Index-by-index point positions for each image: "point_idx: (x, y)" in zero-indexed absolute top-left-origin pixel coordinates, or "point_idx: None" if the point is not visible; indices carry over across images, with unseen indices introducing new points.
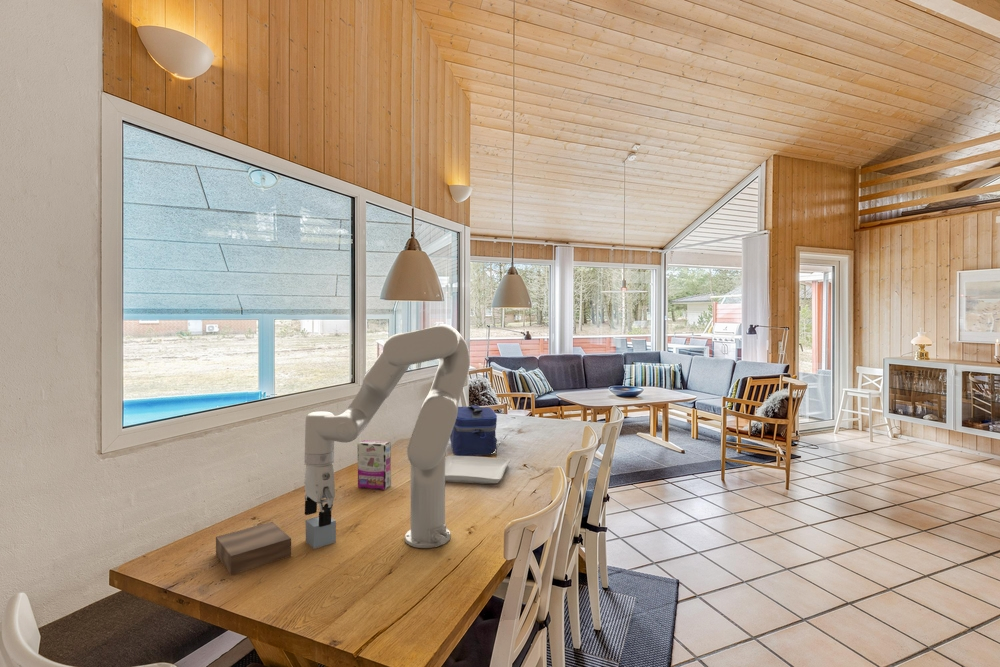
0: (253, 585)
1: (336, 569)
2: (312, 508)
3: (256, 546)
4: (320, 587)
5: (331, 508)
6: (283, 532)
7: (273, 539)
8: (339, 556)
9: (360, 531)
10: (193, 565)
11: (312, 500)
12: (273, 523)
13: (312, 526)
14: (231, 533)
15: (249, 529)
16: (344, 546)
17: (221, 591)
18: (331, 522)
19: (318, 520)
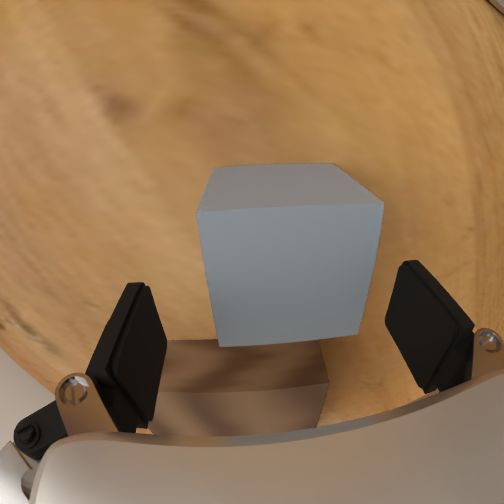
0: (378, 390)
1: (482, 249)
2: (148, 339)
3: None
4: (491, 298)
5: (499, 343)
6: (251, 393)
7: (289, 412)
8: (445, 210)
9: (292, 12)
10: None
11: (134, 398)
12: None
13: (334, 334)
14: None
15: (159, 427)
16: (399, 154)
17: (349, 418)
18: (376, 234)
19: (284, 297)
